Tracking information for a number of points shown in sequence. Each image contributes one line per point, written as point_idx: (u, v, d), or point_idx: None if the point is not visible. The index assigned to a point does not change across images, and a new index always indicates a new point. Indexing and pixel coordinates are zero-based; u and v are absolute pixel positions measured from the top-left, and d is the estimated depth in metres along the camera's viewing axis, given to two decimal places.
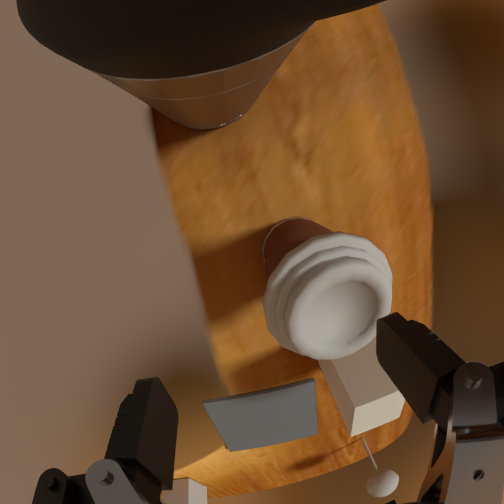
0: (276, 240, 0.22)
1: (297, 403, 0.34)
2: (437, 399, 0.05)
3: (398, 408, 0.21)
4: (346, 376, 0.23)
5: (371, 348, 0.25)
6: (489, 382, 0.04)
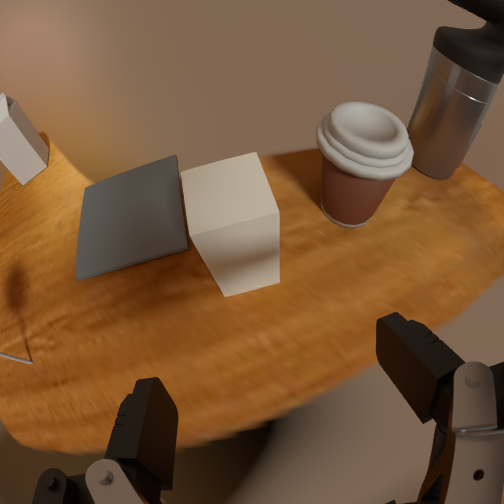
0: None
1: (150, 236, 0.30)
2: (437, 399, 0.05)
3: (222, 219, 0.17)
4: None
5: None
6: (489, 382, 0.04)
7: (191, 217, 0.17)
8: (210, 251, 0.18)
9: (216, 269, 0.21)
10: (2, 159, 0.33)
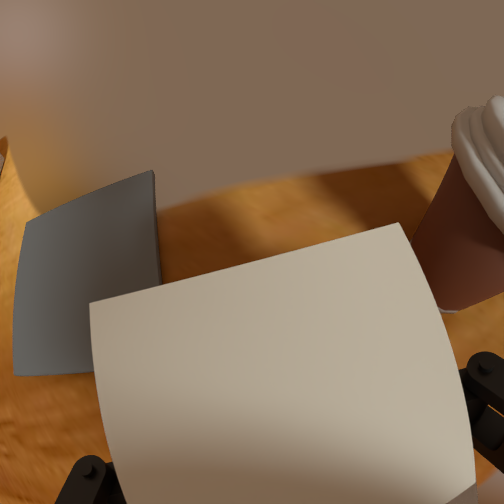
0: None
1: None
2: None
3: None
4: None
5: None
6: None
7: None
8: None
9: None
10: None
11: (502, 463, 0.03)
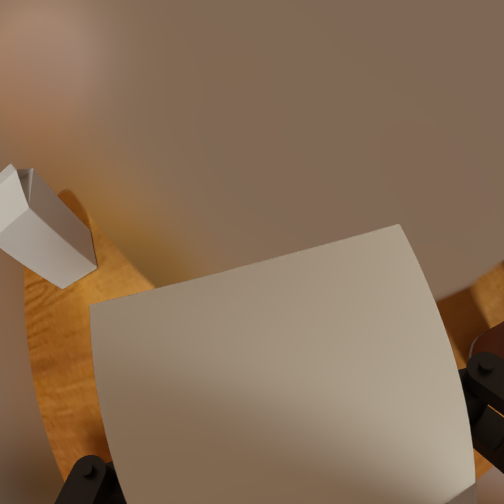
0: None
1: None
2: None
3: None
4: None
5: None
6: None
7: None
8: None
9: None
10: (27, 264, 0.26)
11: (503, 463, 0.03)
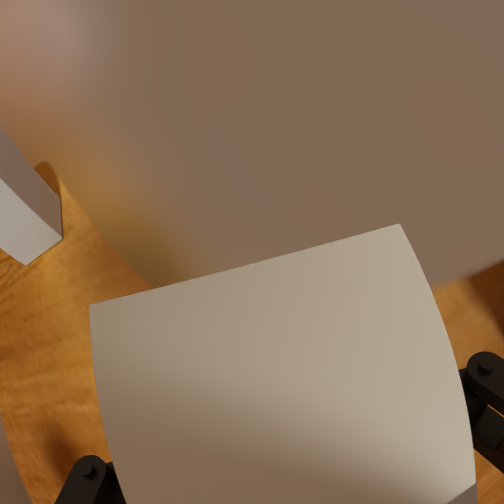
0: None
1: None
2: None
3: None
4: None
5: None
6: None
7: None
8: None
9: None
10: None
11: (503, 463, 0.03)
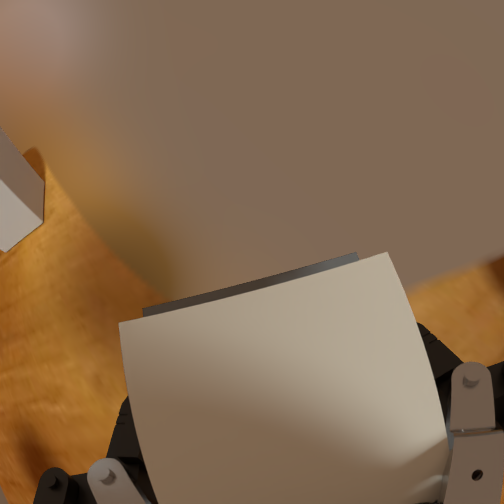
0: None
1: None
2: None
3: None
4: None
5: None
6: (487, 382, 0.04)
7: None
8: None
9: None
10: None
11: None
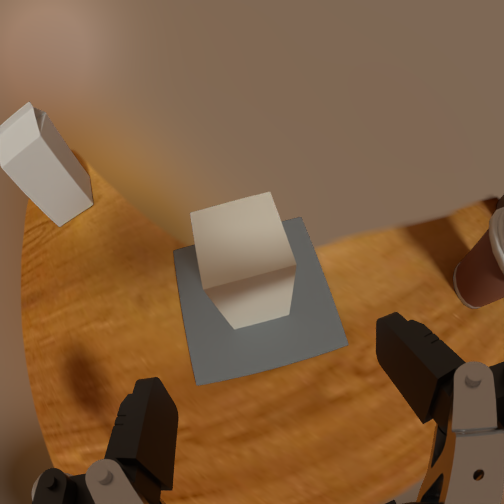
0: None
1: (299, 332, 0.26)
2: (437, 399, 0.05)
3: (236, 272, 0.16)
4: None
5: None
6: (489, 382, 0.04)
7: (203, 268, 0.16)
8: (222, 299, 0.18)
9: (227, 311, 0.20)
10: (30, 195, 0.28)
11: None
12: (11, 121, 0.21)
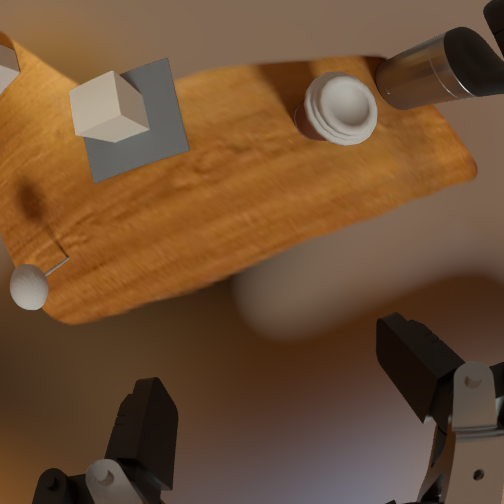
0: None
1: (156, 141, 0.35)
2: (437, 399, 0.05)
3: (91, 122, 0.22)
4: (124, 83, 0.25)
5: (136, 115, 0.28)
6: (489, 382, 0.04)
7: (76, 123, 0.22)
8: (90, 134, 0.25)
9: (99, 137, 0.28)
10: None
11: None
12: None
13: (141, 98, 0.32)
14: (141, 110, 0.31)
